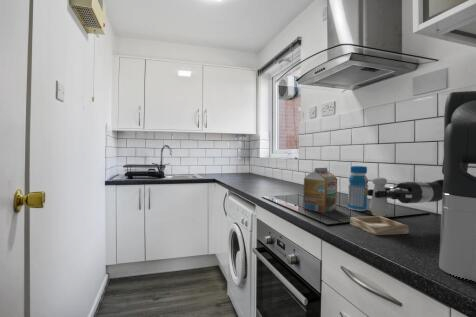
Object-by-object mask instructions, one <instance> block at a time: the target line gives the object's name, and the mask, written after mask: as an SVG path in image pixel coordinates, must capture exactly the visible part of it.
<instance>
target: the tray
mask: <svg viewBox="0 0 476 317" xmlns="http://www.w3.org/2000/svg"><path fill="white" fill-rule="evenodd" d="M349 224H350V226H351V225H352V226H354V227H355V228H359V229H361V230H363V231H366V232H367V233H369V234H372V235H374V236H385V235H387V236H388V235H389V236H390V235H404V234H405V235H407V234H409V227H410V226H409V225H407V224H403V223H401V222H398V221H395V220H392V219H389V218H386V217H385V216H375V215H373V216H372V215H371V216H370V215H369V216H350V217H349Z"/></svg>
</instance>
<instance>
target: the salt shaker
mask: <svg viewBox="0 0 476 317" xmlns="http://www.w3.org/2000/svg"><path fill="white" fill-rule="evenodd" d="M387 182H388V180H387V178H385V177H380V176H379V177H378V176H376V177H373V178H372V184H373V185H374V186H373V189H374V190H373V194H372V196H371V198H370V204H369V210H370V212H371V214H372V215H373V216H381V217H386V216H387V213H388V212H389V203H388V199H387V198H385V197H384V198H376V197H375V191H386V190H385V187H386V185H387ZM372 215H371V216H372Z"/></svg>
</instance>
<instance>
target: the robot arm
mask: <svg viewBox="0 0 476 317" xmlns="http://www.w3.org/2000/svg"><path fill="white" fill-rule="evenodd" d="M443 118H444V120H443V122H444V123H443V124H444V125H443V157H442V158H443V160H442V166H441V173H442V175H443V179H438V180H437V179H436V180H434V181H430V182H429V181H427V182H425V181H424V182H422V181H402V182H399V183H398V184H397V185H396V186H390V187H388V186H385V190H386V191H375V197H376V198H384V197H385V198H387V200H388V199H390V200H398V201H399V202H400V203H402V204H423V203H431V202H432V203H433V202H434V203H435V202H440V201H441V215H440V216H441V217H440V234H439V236H440V237H439V256H438V257H439V259H438V260H439V261H438V267H439V268H440V270H442V272H445V273H446V274H449V275H450V274H451V275H450V276H453V275H454V277H456V276H457V277H456V278H458V277H460V278H459V279H462V278H464V279H463V280H465V279H468V280H467V281H469V280H472V281H475V282H476V176H475V175H472V173H469V172H468V168H469V165H476V90H468V91H452V92H450V93H448V95H447V97H446V100H445V105H444V117H443ZM373 190H374V188H373V189H371V188H368V191H367V197H372V194H373ZM472 281H471V282H472ZM475 282H474V283H475Z"/></svg>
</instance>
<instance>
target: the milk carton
mask: <svg viewBox="0 0 476 317" xmlns="http://www.w3.org/2000/svg"><path fill="white" fill-rule="evenodd" d="M302 198H303V199H302V204H303V205H302V209H303V208H304V210H307V209H308V211H312V210H313V211H312V212H318V213H321V212H323V213H322V214H326V213H330V212H333V210H334V211H336V210H337V200H338V178H337V177H336V176H335V175H334V174H333V173H331V172H330V171H328V167H314V170H313V171H312V172H309V173H308V174H307V175H305V177H304V178H303V197H302ZM325 212H326V213H325Z"/></svg>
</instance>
